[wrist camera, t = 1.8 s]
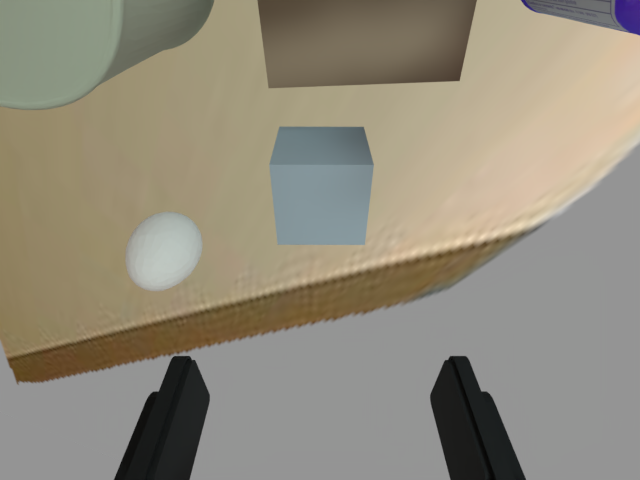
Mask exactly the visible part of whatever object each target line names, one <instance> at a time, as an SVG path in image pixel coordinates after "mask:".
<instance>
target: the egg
mask: <svg viewBox="0 0 640 480" xmlns="http://www.w3.org/2000/svg"><path fill="white" fill-rule="evenodd" d="M201 253H202V236H201V233H200V231H199V229H198V227H197V225H196V224H195V223H194V222H193V221H192V220H191V219H190V218H188V217H187V216H185V215H183V214H180V213H176V212H162V213H157V214H154V215H152V216H149V217H148V218H146V219H145V220H143V221H142V222H141V223H140V224H139V225H138V226H137V227H136V229H135V230H134V231H133V233H132V235H131V236H130V238H129V241H128V244H127V247H126V256H125V262H126V268H127V272H128V274H129V277H130V278H131V279H132V281H133V282H134V283H135V284H136V285H137V286H139V287H141V288H143V289H145V290H150V291H163V290H166V289H169V288H171V287H173V286H175V285H177V284H179V283H180V282H181V281H183V280H184V279H185V278H187V277H188V276H189V275H190V274H191V273H192V271H193V270H194V268H195V267H196V265H197V263H198V261H199V259H200V256H201Z"/></svg>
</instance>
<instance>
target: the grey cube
mask: <svg viewBox="0 0 640 480" xmlns="http://www.w3.org/2000/svg"><path fill="white" fill-rule="evenodd" d="M269 167H270V177H271V186H272V196H273V206H274V215H275V225H276V234H277V244H278V245H365V239H366V230H367V222H368V213H369V204H370V195H371V186H372V177H373V168H374V163H373V160H372V156H371V152H370V148H369V145H368V141H367V137H366V133H365V130H364V127H279V130H278V134H277V137H276V141H275V145H274V149H273V152H272V156H271V160H270V164H269Z"/></svg>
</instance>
